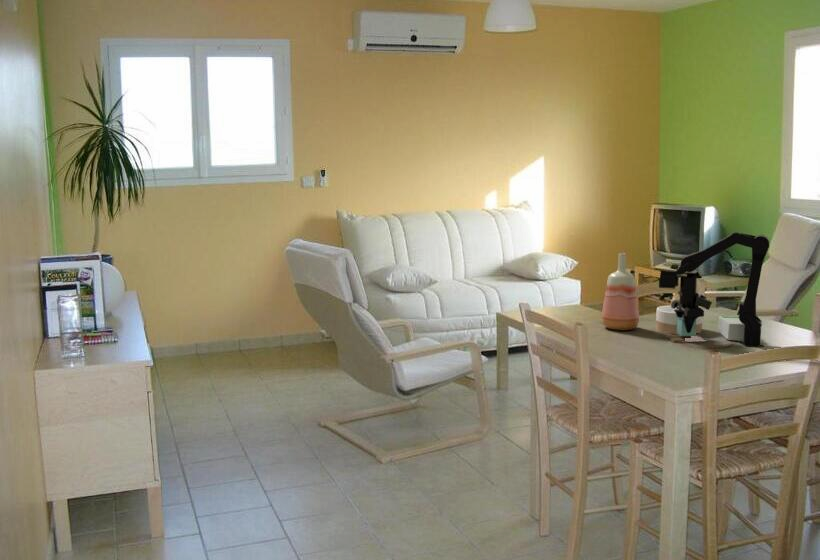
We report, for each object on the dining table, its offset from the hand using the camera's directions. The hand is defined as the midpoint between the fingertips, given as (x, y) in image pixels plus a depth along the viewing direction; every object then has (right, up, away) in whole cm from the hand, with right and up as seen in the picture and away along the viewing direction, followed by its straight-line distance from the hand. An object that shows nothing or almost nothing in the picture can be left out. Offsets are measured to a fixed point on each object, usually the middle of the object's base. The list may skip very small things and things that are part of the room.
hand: (686, 331), depth 327 cm
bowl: (+2, -1, +17) cm, 18 cm away
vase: (-20, 0, +21) cm, 29 cm away
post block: (0, -3, 0) cm, 3 cm away
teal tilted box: (0, -1, 0) cm, 1 cm away
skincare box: (+20, +2, +13) cm, 24 cm away
